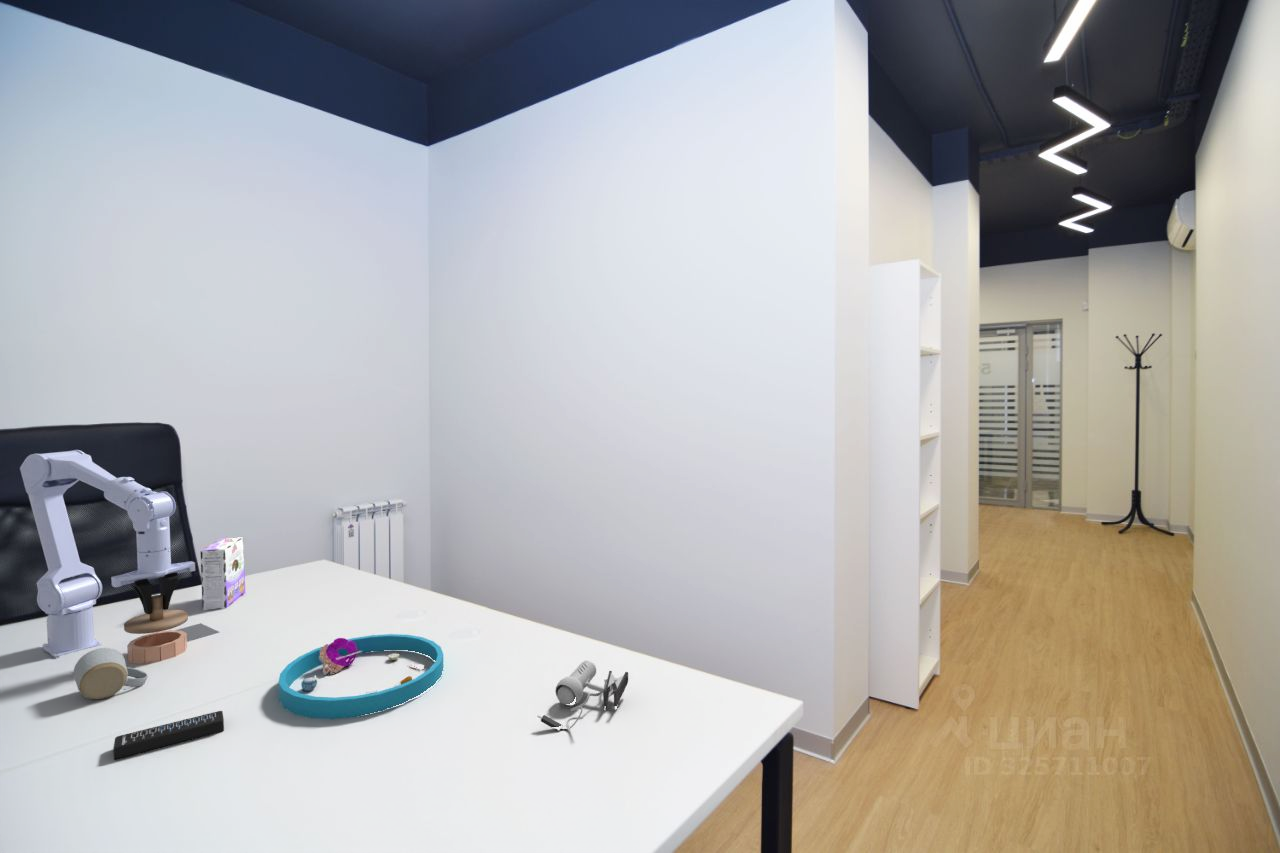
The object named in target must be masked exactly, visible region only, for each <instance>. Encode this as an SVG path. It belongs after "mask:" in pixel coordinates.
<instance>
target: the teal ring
mask: <svg viewBox="0 0 1280 853" xmlns="http://www.w3.org/2000/svg"><path fill="white" fill-rule="evenodd" d="M384 650H408V651H415V652H419V653H422V654H425V655H428V656H430V657H431V658H432V659H433V660H435V661H436V662H435V663H434V662H433V664H432V665H431V666H429V668H430V669H427V670H426V671H424V672H423V673H421V674H420V675H418V676H416V678H413V677H412V676H411V675H408V676H406V677H405V678H404V679H402V680H400V681H399V683H400V685H397V686H392V687H390V688H389V687H388V688H387V689H383V690H379V691H378V690H374V691H371V692H370V691H368V692H367V691H366V692H365V693H364V694H359V695H358V694H357V695H352V696H339V697H338V696H337V697H332V696H331V697H329V696H314V695H309V694H305V693H300V692H299V691H296V690H294V689H293V688H291V686H292V685H293V683H294V681H296V680H298V679H299V678H300V677H301V676H303V675H304V674H306V673H307V672H309V671H312V670H314V669H315V668H319V666H322V668H323V669H322V672H321V673H322V674H323V675H324V676H325V675H326V674H327V675H328V673H329V675H331V674H332V675H336V674H337V673H338V672H341V671H342V670H343V669H344V668H346V666H347V667H349V665H352V664H353V663H354V662H355V659H356V658H357V657H358V656H357V655H361V654H360V653H363V654H367V653H366V652H369V653H372V652H371V651H380V652H385V651H384ZM387 657H388V660H389V661H391V660H395V661H397V660H399V657H400V653H398V652H396V653H390V654H388V655H387ZM396 659H397V660H396ZM410 665H411V666H412V664H410ZM444 666H445V664H444V652H443V650H442V647H441V646H440V645H438V643H437V642H435V641H434V640H431V639H428V638H425V637H421V636H418V635H417V636H416V635H411V634H396V633H388V634H387V633H386V634H372V635H364V636H359V637H352V638H345V637H338V638H336V639H334V640H333V641H332V642H331V643H329V644H328V643H326V644H324V645H323V646H320V647H317V648H314V649H312V650H310V651H308V652H306V653H304V654H302V655H300V656H298V657H297V658H296V659H294V660H292V661H291V662H289V663H288V664H287V665H286V666H285V667H284V669H282V670H281V672H280V673H279V678H278V700H279V703H280V704H281V706H282V708H283V709H284V710H286V711H288V712H290V713H292V714H293V715H296V716H300V717H305V718H308V719H309V718H310V719H320V720H321V719H323V720H340V718H341V719H350V717H352V718H358V717H357V716H360V717H362V716H361V715H365V714H369V715H371V714H370V713H374V712H378V711H383V710H385V709H387V708H391V707H393V706H396V705H399V704H402V703H404V702H406V701H408V700H409V699H412V698H414V697H416V696H418V695H420V694H421V693H423V692H424V691H426V690H427V689H428V688H430V687H431V686H433V685H434V684H435V683H436V681H437V680H438V679H439V678H440V677H441V675H442V676H443V674H442V671H443V672H444V670H443V668H444ZM414 667H415V666H414ZM416 668H417V667H416ZM332 672H335V673H336V674H335V673H332ZM441 678H442V677H441ZM317 685H318V680H317V675H313V677H311V676H310V677H306V678H304V679H303V680H302V681H301V688H302V690H303V691H306V692H310V691H313V690H314V689H315V688H316V687H317ZM383 712H384V711H383ZM374 714H375V713H374ZM365 716H366V715H365Z"/></svg>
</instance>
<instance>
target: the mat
mask: <svg viewBox="0 0 1280 853" xmlns="http://www.w3.org/2000/svg"><path fill="white" fill-rule="evenodd" d="M175 630H176V631H183V632H185V633H187V643H189V642H191V641H195V640H198V639H202V638H206V637H208V636H212V635H215V634H219V633H220V631H218V630H217V629H214V628H212V627H210V626H208V625H206V624H204V623H202V622H201V623H200V622H199V623H197V624H193V625H189V626H186V627H182V628H178V629H175Z"/></svg>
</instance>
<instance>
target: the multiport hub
mask: <svg viewBox="0 0 1280 853" xmlns="http://www.w3.org/2000/svg"><path fill="white" fill-rule="evenodd" d="M224 731H225V719H224V712H223V711H222V710H218V711H215V712H209V713H205V714H201V715H198V716H194V717H189V718H186V719H182V720H177V721H174V722H170V723H166V724H162V725H161V724H160V725H157V726H154V727H150V728H145V729H141V730H137V731H133V732H130V733H125V734H121V735H118V736H116V737H115V738H114V743H113V750H112V751H113V761H118V760H119V761H120V760H123V759H126V758H130V757H133V756H137V755H142V754H145V753H149V752H152V751H153V752H154V751H157V750H160V749H164V748H167V747H171V746H175V745H179V744H184V743H187V742H190V741H194V740H197V739H202V738H205V737H208V736H214V735H216V734H220V733H223V732H224Z"/></svg>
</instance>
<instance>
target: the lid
mask: <svg viewBox="0 0 1280 853" xmlns="http://www.w3.org/2000/svg"><path fill="white" fill-rule="evenodd" d="M151 599H152V614H146V613H142V614H139V615H136V616H133V617H132V618H129V619H127V620H126V621H125V622H124V624H123V631H124V632H125V633H127V634H128V633H129V634H131V635H132V634H134V635H135V634H137V635H141V634H142V635H144V634H145V635H147V634H151V633H156V632H162V631H169V630H172V629H174V628H177V627H179V626H182V625H184V624H185V623H186V622H187V621H189V613H188V612H187V611H186V610H181V609H168V610H163V595H160V594H155V595H152V598H151Z"/></svg>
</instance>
